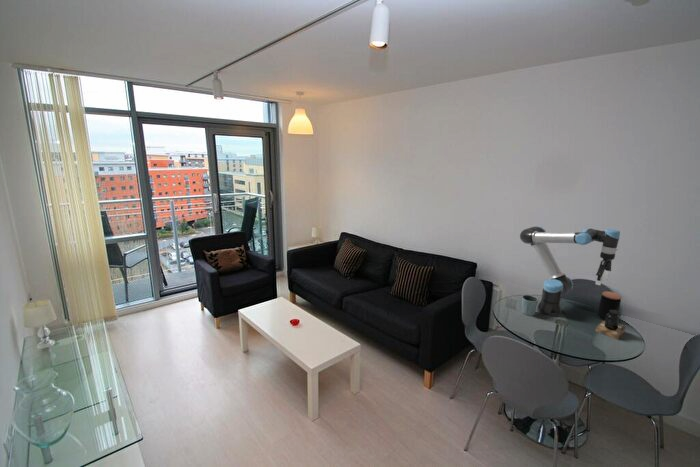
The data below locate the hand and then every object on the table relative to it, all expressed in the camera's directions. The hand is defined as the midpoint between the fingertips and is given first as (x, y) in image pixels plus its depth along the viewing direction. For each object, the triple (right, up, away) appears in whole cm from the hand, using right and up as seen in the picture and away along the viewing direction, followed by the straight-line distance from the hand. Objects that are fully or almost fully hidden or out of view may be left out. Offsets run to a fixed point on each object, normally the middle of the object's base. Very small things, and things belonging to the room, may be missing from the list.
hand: (601, 282), depth 217 cm
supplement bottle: (0, -29, -7) cm, 30 cm away
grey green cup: (-40, -25, +18) cm, 51 cm away
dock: (0, -32, -6) cm, 32 cm away
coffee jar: (+11, -27, +10) cm, 31 cm away
